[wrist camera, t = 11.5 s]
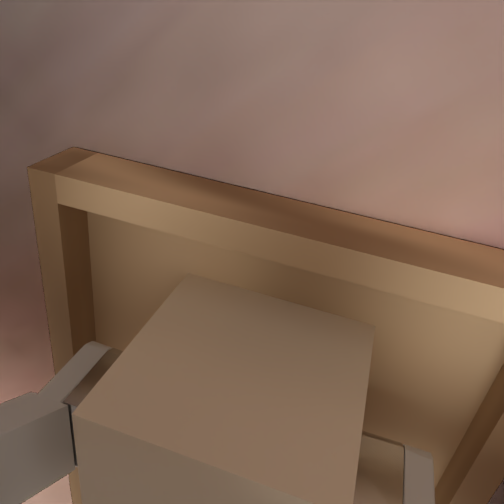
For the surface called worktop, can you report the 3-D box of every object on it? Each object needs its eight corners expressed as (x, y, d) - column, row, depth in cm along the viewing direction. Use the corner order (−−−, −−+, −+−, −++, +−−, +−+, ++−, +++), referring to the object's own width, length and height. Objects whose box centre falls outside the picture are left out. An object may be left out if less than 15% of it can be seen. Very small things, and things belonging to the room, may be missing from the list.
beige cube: (180, 401, 12) (88, 558, 9) (187, 273, 10) (70, 413, 7) (332, 453, 11) (296, 650, 8) (375, 326, 9) (351, 517, 6)
